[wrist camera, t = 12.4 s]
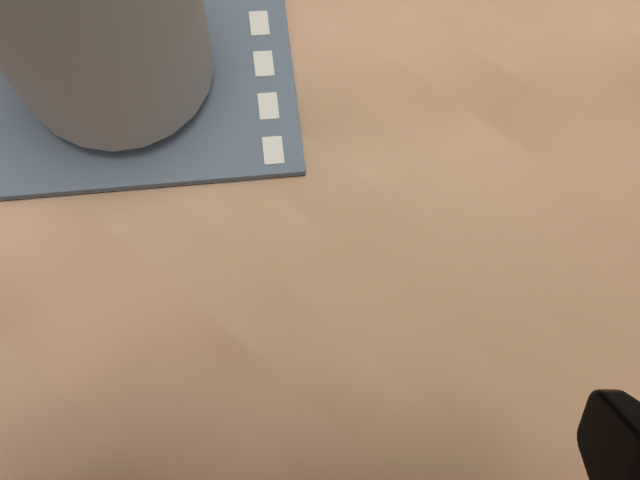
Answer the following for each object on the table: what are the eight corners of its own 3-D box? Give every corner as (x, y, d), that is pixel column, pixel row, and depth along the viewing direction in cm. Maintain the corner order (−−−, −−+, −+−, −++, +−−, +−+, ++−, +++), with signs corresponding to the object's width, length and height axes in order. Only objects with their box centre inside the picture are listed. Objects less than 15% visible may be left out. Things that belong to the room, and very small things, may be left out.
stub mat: (-59, 205, 23) (-66, 201, 23) (-46, -13, 26) (-52, -21, 26) (304, 175, 25) (305, 170, 24) (279, -28, 27) (280, -36, 27)
